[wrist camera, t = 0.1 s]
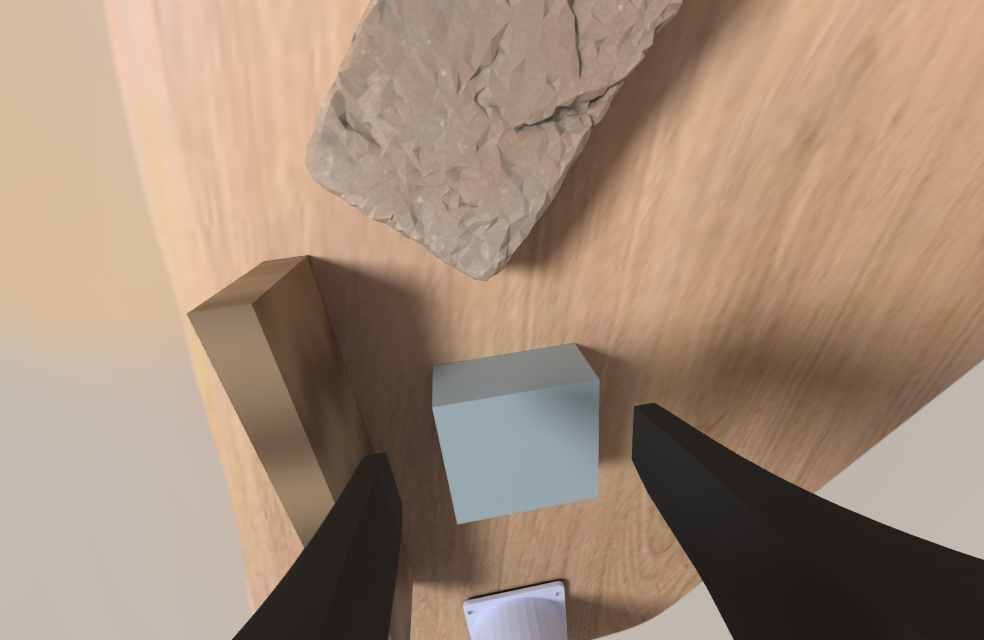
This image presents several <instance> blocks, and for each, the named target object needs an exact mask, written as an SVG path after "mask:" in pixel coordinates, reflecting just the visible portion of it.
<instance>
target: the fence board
mask: <svg viewBox="0 0 984 640" xmlns="http://www.w3.org/2000/svg"><path fill="white" fill-rule="evenodd" d="M187 315H188V317H189V319H190V321H191V323H192V325H193V327H194V329H195V331H196V333H197V335H198V337H199V339H200V341H201V343H202V345H203V347H204V349H205V351H206V353H207V355H208V357H209V359H210V361H211V363H212V365H213V367H214V369H215V371H216V373H217V375H218V377H219V379H220V381H221V383H222V385H223V387H224V389H225V391H226V393H227V395H228V397H229V399H230V401H231V403H232V405H233V407H234V409H235V411H236V413H237V415H238V417H239V419H240V421H241V423H242V425H243V427H244V429H245V431H246V433H247V435H248V437H249V439H250V441H251V443H252V444H253V446H254V448H255V450H256V452H257V454H258V456H259V458H260V460H261V462H262V464H263V466H264V468H265V470H266V472H267V474H268V476H269V478H270V480H271V482H272V484H273V486H274V488H275V490H276V492H277V494H278V496H279V498H280V500H281V502H282V504H283V506H284V508H285V510H286V512H287V514H288V516H289V518H290V520H291V522H292V524H293V526H294V528H295V530H296V532H297V534H298V536H299V538H300V540H301V542H302V544H303V546H304V548H305V547H306V546H307V544H308V543H309V541H310V540H311V539H312V537H313V536H314V534H315V533H316V531H317V530H318V528H319V527H320V525H321V524H322V522H323V521H324V519H325V518H326V516H327V514H328V513H329V511H330V510H331V508H332V507H333V505H334V504H335V502H336V500H337V499H338V497H339V496H340V494H341V492H342V491H343V489H344V487H345V486H346V484H347V482H348V481H349V479H350V477H351V476H352V474H353V472H354V471H355V469H356V467H357V466H358V464H359V462H360V461H361V459H362V458H363V457H364V456H369V455H374V454H373V451H372V448H371V445H370V442H369V439H368V436H367V433H366V430H365V427H364V424H363V421H362V418H361V415H360V412H359V409H358V406H357V403H356V399H355V396H354V393H353V390H352V387H351V384H350V381H349V378H348V375H347V372H346V369H345V366H344V363H343V360H342V357H341V354H340V351H339V348H338V345H337V342H336V339H335V336H334V333H333V330H332V327H331V324H330V321H329V318H328V315H327V312H326V309H325V306H324V303H323V300H322V296H321V293H320V290H319V287H318V284H317V281H316V278H315V275H314V272H313V269H312V266H311V263H310V260H309V257H308V255H306V256H299V257H292V258H286V259H279V260H272V261H265V262H262V263H261V264H259V265H258V266H256V267H255V268H253V269H252V270H251V271H249V272H248V273H246V274H245V275H243V276H242V277H240V278H239V279H237V280H236V281H234V282H233V283H231V284H230V285H229V286H227V287H226V288H224V289H223V290H221V291H220V292H218V293H217V294H215V295H214V296H212V297H211V298H209V299H208V300H207V301H205V302H204V303H202V304H201V305H199V306H198V307H196V308H195V309H193V310H192V311H190V312H189V313H187ZM412 589H413V572H412V569H411V566H410V563H409V560H408V557H407V554H406V551H405V548H404V545H403V542H402V539H401V546H400V554H399V562H398V570H397V577H396V585H395V592H394V599H393V607H392V614H391V622H390V629H389V637H388V640H410V626H411V607H412Z"/></svg>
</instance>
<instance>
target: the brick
mask: <svg viewBox="0 0 984 640" xmlns="http://www.w3.org/2000/svg"><path fill="white" fill-rule="evenodd" d="M683 1H684V0H370V2H369V4H368V6H367V8H366V10H365V12H364V14H363V16H362V18H361V20H360V22H359V25H358V27H357V29H356V31H355V33H354V36H353V39H352V43H351V45H350V47H349V49H348V51H347V53H346V55H345V57H344V59H343V61H342V63H341V65H340V68H339V71H338V74H337V77H336V79H335V82H334V83H333V85H332V87H331V88H330V90H329V91H328V93H327V95H326V98H325V100H324V102H323V104H322V107H321V109H320V113H319V117H318V122H317V127H316V129H315V131H314V133H313V135H312V137H311V139H310V141H309V143H308V146H307V155H306V159H305V164H306V166H307V169H308V171H309V173H310V174H311V176H312V178H313V179H314V180H316V182H317V183H318V184H319V185H321V186H322V187H323V188H324V189H326V190H328V191H329V192H331V193H333V194H335V195H337V196H339V197H340V198H342V199H344V200H345V201H346V202H347V203H349V204H350V205H351V206H355V207H356V208H358V209H359V210H360V211H361V212H362V213H364V214H365V215H366V216H367V217H369V218H371V219H373V220H376V221H379V222H383V223H386V224H387V225H389V226H390V227H392V228H393V229H395V230H396V231H399V232H400V233H401V234H402V235H403V236H405V237H407V238H410V239H413V240H415V241H417V242H418V243H420V244H421V245H423V246H425V247H426V248H427V249H428V250H429V252H431V253H432V254H434V255H435V256H436V257H438V258H439V259H441V260H442V261H443V262H444V263H446V264H448V265H451V266H452V267H453V268H455V269H457V270H459V271H461V272H463V273H465V274H466V275H468V276H470V277H471V278H473V279H477V280H484V281H487V280H488V279H489V278H490V277H492V276H494V275H496V274H498V273H499V272H500V271H501V270H502V269H503V268H504V267H505V265H506V264H507V263H508V261H509V260H510V258H511V257H512V255H513V253H514V252H515V250H516V249H517V248H518V246H519V245H520V244H521V243H522V241H523V240H524V239H525V238H526V237H527V236H528V235H529V233H530V231H531V229H532V227H533V226H534V225H535V223H536V222H537V221H538V220H539V219H540V218H541V216H542V215H543V214H544V212H545V211H546V209H547V208H548V207H549V205H550V204H551V202H552V201H553V199H554V197H555V196H556V194H557V192H558V190H559V189H560V187H561V185H562V183H563V181H564V179H565V177H566V175H567V173H568V171H569V169H570V167H571V165H572V164H573V163H574V161H575V160H576V158H577V157H578V156H579V155H580V153H581V152H582V151H583V149H584V147H585V145H586V143H587V140H588V138H589V136H590V134H591V128H592V126H595V125H596V124H598V123H599V122H600V121H601V120H602V118H603V116H604V115H605V113H606V112H607V110H608V108H609V106H610V104H611V102H612V100H613V98H614V97H615V95H616V94H617V93H618V91H619V89H620V87H621V86H622V84H623V83H624V82H625V81H626V79H627V78H628V77H629V76H630V74H631V73H632V72H633V71H634V70H635V69H636V68H637V66H638V65H639V64H640V63H641V62H642V60H643V59H644V58H645V55H646V53H647V52H648V50H649V49H650V47H651V46H652V45H653V43H654V40H655V38H656V37H657V35H658V34H659V33H660V32H661V30H662V29H663V28H664V27H665V26H666V25H667V24H668V23H669V22H670V21H671V20H672V19H673V18H674V17H675V16H676V15H677V14H678V12H679V9H680V7H681V4H682V2H683Z"/></svg>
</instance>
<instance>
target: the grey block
mask: <svg viewBox="0 0 984 640" xmlns="http://www.w3.org/2000/svg"><path fill="white" fill-rule="evenodd" d="M599 386H600V379H599V378H598V376H597V375H596V374H595V372H594V371H593V369H592V368H591V366H590V365H589V363H588V362H587V360H586V359H585V358H584V356H583V355H582V353H581V352H580V350H579V349H578V347H577V346H576V345H575V343H572V344H566V345H560V346H554V347H548V348H541V349H535V350H529V351H523V352H517V353H510V354H504V355H498V356H492V357H485V358H479V359H473V360H467V361H461V362H454V363H448V364H442V365H436V366H433V389H432V409H433V414H434V419H435V423H436V428H437V432H438V437H439V442H440V446H441V451H442V456H443V460H444V465H445V470H446V474H447V479H448V483H449V488H450V493H451V497H452V502H453V507H454V511H455V516H456V520H457V524H462V523H467V522H473V521H478V520H483V519H488V518H494V517H499V516H504V515H509V514H515V513H520V512H525V511H530V510H536V509H541V508H546V507H551V506H557V505H562V504H567V503H572V502H578V501H583V500H588V499H594V498H598V461H599Z"/></svg>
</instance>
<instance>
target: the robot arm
mask: <svg viewBox="0 0 984 640" xmlns="http://www.w3.org/2000/svg"><path fill="white" fill-rule="evenodd" d="M632 461H633V463H634V465H635V467H636V469H637V472H638V474H639V476H640V478H641V480H642V482H643V484H644V486H645V488H646V490H647V492H648V494H649V495H650V497H651V499H652V500H653V502H654V504H655V505H656V507H657V508H658V510H659V512H660V513H661V515H662V516H663V518H664V520H665V521H666V523H667V524H668V526H669V527H670V529H671V531H672V532H673V534H674V535H675V537H676V538H677V540H678V542H679V543H680V545H681V546H682V548H683V549H684V551H685V553H686V554H687V556H688V557H689V559H690V560H691V562H692V564H693V565H694V567H695V568H696V570H697V572H698V573H699V575H700V577H701V579H702V580H703V582H704V584H705V585H706V587H707V589H708V591H709V593H710V595H711V596H712V599H713V600H714V602H715V604H716V606H717V608H718V610H719V612H720V614H721V616H722V618H723V620H724V622H725V623H726V625H727V627H728V629H729V631H730V633H731V635H732V637H733V639H734V640H984V560H983V559H979V558H976V557H973V556H970V555H967V554H964V553H961V552H958V551H955V550H952V549H950V548H947V547H944V546H941V545H938V544H935V543H933V542H930V541H927V540H924V539H922V538H919V537H916V536H913V535H911V534H908V533H905V532H903V531H900V530H898V529H895V528H893V527H890V526H887V525H885V524H882V523H880V522H877V521H875V520H872V519H870V518H868V517H865V516H863V515H860V514H858V513H856V512H853V511H851V510H848V509H846V508H844V507H841V506H839V505H837V504H835V503H832V502H830V501H828V500H826V499H823V498H821V497H819V496H817V495H815V494H813V493H811V492H809V491H807V490H805V489H802V488H800V487H798V486H796V485H794V484H792V483H790V482H788V481H786V480H784V479H782V478H780V477H778V476H776V475H774V474H772V473H770V472H769V471H767V470H765V469H763V468H761V467H760V466H758V465H756V464H754V463H752V462H750V461H749V460H747V459H745V458H743V457H741V456H740V455H738V454H736V453H735V452H733V451H731V450H729V449H728V448H726V447H724V446H723V445H721V444H719V443H718V442H716V441H715V440H713V439H711V438H710V437H708V436H706V435H705V434H703V433H702V432H700V431H698V430H697V429H695V428H694V427H692V426H691V425H689V424H687V423H686V422H684V421H683V420H681V419H680V418H678V417H677V416H675V415H673V414H672V413H670V412H669V411H667V410H666V409H664V408H662V407H661V406H659V405H657V404H656V403H649V404H644V405H639V406H634V419H633V441H632ZM401 527H402V502H401V499H400V496H399V493H398V490H397V487H396V484H395V480H394V477H393V474H392V471H391V468H390V465H389V461H388V458H387V455H386V452H385V453H380V454H374V455H369V456H364V457H363V458H362V459H361V461H360V462H359V464H358V466H357V467H356V469H355V471H354V472H353V474H352V476H351V477H350V479H349V481H348V482H347V484H346V486H345V487H344V489H343V491H342V492H341V494H340V496H339V497H338V499H337V500H336V502H335V504H334V505H333V507H332V508H331V510H330V511H329V513H328V514H327V516H326V518H325V519H324V521H323V522H322V524H321V525H320V527H319V528H318V530H317V531H316V533H315V534H314V536H313V537H312V539H311V540H310V541H309V543H308V544H307V546H306V547H305V548H304V550H303V551H302V553H301V554H300V555H299V557H298V558H297V560H296V561H295V563H294V564H293V565H292V567H291V568H290V569H289V571H288V572H287V573H286V575H285V576H284V577H283V579H282V580H281V581H280V583H279V584H278V585H277V586H276V588H275V589H274V590H273V591H272V593H271V594H270V595H269V596H268V598H267V599H266V600H265V601H264V603H263V604H262V605H261V606H260V608H259V609H258V610H257V611H256V612H255V614H254V615H253V616H252V617H251V618H250V619H249V621H248V622H247V623H246V624H245V625H244V626H243V628H242V629H241V630H240V631H239V632H238V633H237V634H236V636H235V637H234V638H233V639H232V640H388V637H389V629H390V622H391V614H392V607H393V599H394V592H395V585H396V577H397V570H398V562H399V554H400V546H401ZM463 608H464V613H465V617H466V621H467V625H468V629H469V633H470V637H471V640H568V638H567V622H566V605H565V588H564V585H563V583H562V582H561V581H556V582H551V583H547V584H542V585H537V586H532V587H528V588H523V589H518V590H514V591H509V592H504V593H499V594H495V595H490V596H485V597H480V598H476V599H471V600H467V601H466V602H464V604H463Z"/></svg>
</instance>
